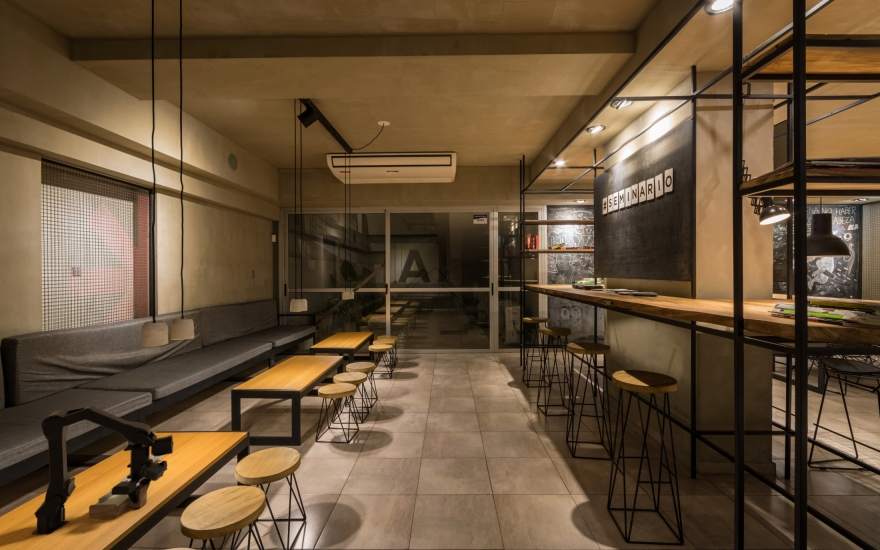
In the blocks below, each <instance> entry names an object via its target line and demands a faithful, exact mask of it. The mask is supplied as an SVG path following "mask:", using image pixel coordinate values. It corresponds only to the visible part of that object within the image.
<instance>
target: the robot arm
mask: <svg viewBox="0 0 880 550" xmlns="http://www.w3.org/2000/svg"><path fill="white" fill-rule="evenodd" d="M82 421H88V422H91V423H94V424H95V425H98V426H101V427H104V428H106V429H109V430H111V431H113V432H116V433H118V434H120V435H121V436H122V437H123V438H124V439H125V440H126V441H128V442H129V443H128V444H127V445H126V446H125V447H124V448H123V452H129V451H130V456H129V457H130V459H129V461H130V463H128V464H127V465H126V467H127V469H128V468H129V471H130V472H129V474H130V475H128V474H127V475H128V476H127V475H126V476H127V479H131V480H130V481H122V482H120V481H119V483H117V484H116V485H114V486H113V487H112V488H111V491H112V495H128V496H129V497H130V499H131V500H132V502H133V503H134V504H136V503H137V502H138V495H139V489H140V488H141V487H142V486H143V485H147V491H148V490H149V488H150V485H151V482H156V481H158V480H159V479H160V478H162V477H163V476H164V473H165V472H166V471H167V470H168V461H167V460H161V461H159V462H153V460H152V459H150V456H151V455H152V454H153V456H155V457H156V456H161V455H164V456H167V455H170V454H171V455H172V454H173V452H174V439H173V434H170V435H167V436H162V437H158V436H157V435H156V434H155V433H154V432H153V431H152V429H151V426H150V425H149V424H147V423H144V422H140V421H139V422H138V421H130V420H127V419H124V418H121V417H119V416H117V415H114V414H112V413H109V412H107V411H106V410H102V409H100V408H98V407H96V406H94V405H87V406H84V407H79V408H74V409H69V410H62V409H59V410H55V411H54V412H52V413H51V414H49V415H48V416H46V417H45V418H44V419H43V421H41V424H40V426H41V431H42V433H43V434H42V435H43V436H44V438H45V439H46V441H47V443H48V445H47V447H48V448H47V449H48V469H49V470H48V472H49V483H48V486H47V488H46V489H47V490H46V492H45V496H44V501H43V502H42V503H41V505H39V507H38V508H37V510H35V512H34V516H35V518H36V529H35V530H33V531H32V532H31V534H32V535H43V534H44V535H45V534H53V533H54V532H55V531H58V529H60V528H62V527H63V526H65V525H66V524H68V523H69V519H66V507H65V503H66V502H67V501H68V500H69V498H71V495H72V494H73V492H74V490H75V489H76V488H77V486H76V485H75V482H76V481H75V480H76V477H75V476H74V477H71V478H70V476H69V475H68V461H67V458H68V457H67V433H68V431H69V426H71V425H73V424H76V423H80V422H82ZM157 437H158V438H157ZM150 448H151V449H150Z"/></svg>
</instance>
